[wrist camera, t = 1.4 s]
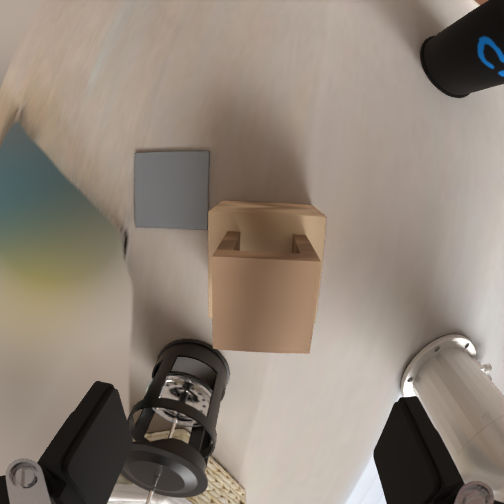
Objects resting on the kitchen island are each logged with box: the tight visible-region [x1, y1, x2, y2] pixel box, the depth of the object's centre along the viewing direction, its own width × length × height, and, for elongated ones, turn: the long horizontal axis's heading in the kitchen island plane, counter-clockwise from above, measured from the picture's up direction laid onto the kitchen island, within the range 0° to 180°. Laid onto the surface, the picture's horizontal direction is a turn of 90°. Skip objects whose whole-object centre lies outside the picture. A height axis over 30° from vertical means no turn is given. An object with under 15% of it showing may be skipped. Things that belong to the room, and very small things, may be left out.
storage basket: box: [107, 429, 246, 504], centre depth 36 cm, size 24×16×15 cm
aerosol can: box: [421, 0, 504, 98], centre depth 16 cm, size 8×8×20 cm
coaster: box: [135, 151, 210, 230], centre depth 31 cm, size 8×8×1 cm
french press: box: [120, 339, 230, 504], centre depth 26 cm, size 12×9×23 cm
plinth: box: [208, 201, 327, 323], centre depth 28 cm, size 9×9×8 cm
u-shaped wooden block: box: [212, 231, 321, 354], centre depth 21 cm, size 6×6×7 cm
